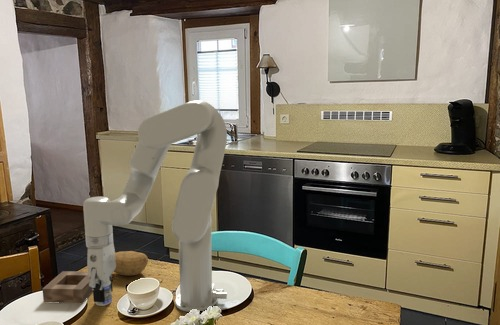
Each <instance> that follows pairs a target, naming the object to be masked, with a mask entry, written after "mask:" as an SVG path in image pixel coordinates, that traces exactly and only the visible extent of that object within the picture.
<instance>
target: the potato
mask: <svg viewBox="0 0 500 325" xmlns="http://www.w3.org/2000/svg"><path fill="white" fill-rule="evenodd" d="M115 257H116V269H115V270H114V271H113V272H114V273H115V274H117V275H121V276H130V277H131V276H132V277H133V276H137V275H139V274H141V273H142V272H143V271H144V270H145V269H146V267H147V265H148V261H149V258H148V256H147V255H146V254H145V253H143V252H138V251H135V250H129V251H128V250H126V251H118V252H116V251H115Z"/></svg>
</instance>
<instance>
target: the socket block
mask: <svg viewBox="0 0 500 325" xmlns="http://www.w3.org/2000/svg"><path fill="white" fill-rule="evenodd" d="M89 283H90V280H89V278H88V271H76V270H75V271H73V270H72V271H71V270H70V271H68V270H67V271H65V270H63V271H60V273H59V274H58V275H57V276H55V277H54V278H53V279H52V280H51V281H49V283H48V284H46V285H45V286H44V287H42V298H43V303H44V302H59V303H58V304H84V303H85V302H84V300H85V299H86V298H87V299H88V298H90V296H91V295H93V290H92V288H91V287H90V286H89ZM87 299H86V300H87ZM86 300H85V301H86ZM83 302H84V303H83Z"/></svg>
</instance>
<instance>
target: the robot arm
mask: <svg viewBox="0 0 500 325" xmlns="http://www.w3.org/2000/svg"><path fill="white" fill-rule="evenodd" d="M137 135H138V141H137V144H136V146H135V148H134V150H133V152H132V154H131V157H130V159H129V162H128V164H129V165H128V166H129V168H130V174H129V177H128V179H127V183H126V184H125V187H124V189H123V191H122V193H121V195H120V196H119V197H118V198H116V199H113V200H111V199H110V198H109V197H106V196H91V197H88V198H86V199H85V200H84V201H83V205H82V206H83V210H82V211H83V222H84V234H85V246H86V248H87V254H86V256H87V257H86V258H87V261H86V262H87V263H86V264H87V272H88V278H89V280H90V283H89V286H90V287H91V288H92V290H93V292H92V300H93V302H94V303H95V302H104V301H105V292H104V289H103V281H105V280H106V279H107V278H108V277H109V278H110V279H109V280H110V281H111V293H113V291H114V290H113V289H114V288H113V272H114V270H115V269H116V257H115V253H116V250H115V245H114V233H113V232H114V231H113V229H114V228H113V226H115V227H117V226H118V227H123V226H127V225H129V224H130V223H131V222H132V221H133V220H134V219H135V217H137V216H138V215H139V213H141V212H142V210H143V208H144V205H145V204H146V202H147V199H148V197H149V195H150V193H151V191H152V189H153V186H154V183H155V180H156V179H157V176H158V173H159V171H160V168H161V167H162V164H163V163H164V160H165V158H166V156H167V154H168V152H169V149H171V148H170V147H171V145H172V144H175V143H177V142H181V141H183V140H186V139H188V138H190V137H193V136H196V135H197V136H196V144H195V146H194V151H193V157H192V158H191V159H192V160H191V164H190V167H189V170H188V171H187V173H186V174H185V176H183V179H182V181H181V183H180V186H179V191H178V194H177V199H176V204H175V207H174V208H175V209H174V211H173V216H172V220H171V229H172V233H173V235H174V237H175V238H176V239H177V240H178V263H179V265H178V266H179V267H178V268H179V269H178V270H179V292H180V293H178V295H176V297H175V298H174V299H175V300H174V303H175V306H176V308H177V309H179V310H180V311H183V312H187V313H190V312H189V311H190V310H192V309H197V310H200V311H202V312H205V311H204V310H206V309H207V308H208V307H209V306H214V305H215V304H216V305H217V303H218V299H220V300H226V299H228V292H227V291H224V290H225V289H224V288H216V287H215V283H213V271H212V269H213V268H212V267H213V266H212V265H213V264H212V251H213V250H212V231H213V230H212V228H213V227H212V226H213V217H212V211H213V207H214V203H215V199H216V194H217V191H218V188H219V184H220V183H219V182H220V177H221V176H220V175H221V171H222V165H223V162H224V157H225V153H226V147H227V143H228V142H227V140H228V133H227V126H226V122H225V120H224V118H223V116H222V115H221V113H220V112H219V111H218V109H216V108H215V107H214V105H212V104H210V102H209V103H208V102H207V101H204V100H191V101H188V102H187V101H186V102H185V103H182V104H180V105H177V106H175V107H172V108H170V109H168V110H165V111H162V112H160V113H157V114H154V115H151V116H148V117H146V118H145V119H144V120H142V121H141V123H140V124H139V125H138V130H137ZM97 277H99V279H96V278H97ZM96 281H100V285H99V284H97V283H96ZM178 298H179V299H178ZM216 302H217V303H216ZM216 305H215V306H216ZM215 306H214V307H215ZM206 311H207V310H206Z"/></svg>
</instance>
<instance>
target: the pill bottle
mask: <svg viewBox="0 0 500 325" xmlns="http://www.w3.org/2000/svg"><path fill="white" fill-rule="evenodd" d="M96 279H99V277H97V278H96ZM109 279H110V278H109V277H108V278H107V279H106V280H105V281H103V289H104V292H105V301H104V302H94V303H95V305H96V306H107V305H109V304H111V302H112V301H113V295H112V293H113V292H111V281H110V280H109ZM96 283H97V284H99V285H100V281H96Z"/></svg>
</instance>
